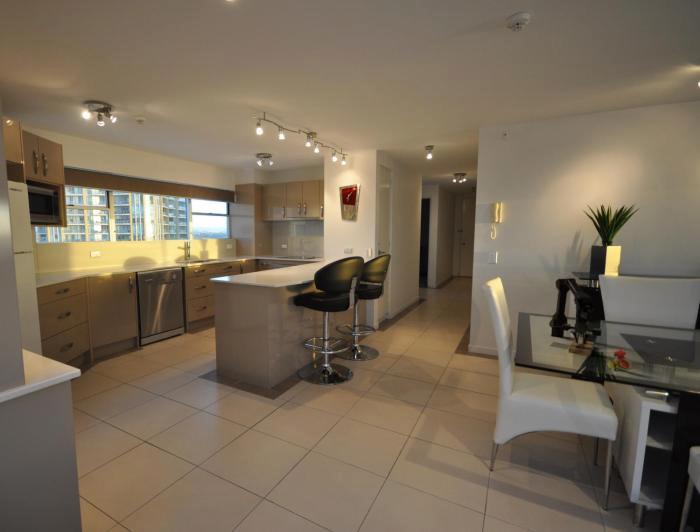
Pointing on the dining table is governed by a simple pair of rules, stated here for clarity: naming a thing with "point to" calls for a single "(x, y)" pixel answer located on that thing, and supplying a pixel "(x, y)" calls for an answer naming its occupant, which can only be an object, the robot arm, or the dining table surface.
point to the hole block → (585, 351)
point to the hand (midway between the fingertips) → (580, 344)
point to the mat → (560, 345)
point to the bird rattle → (625, 362)
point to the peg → (580, 341)
